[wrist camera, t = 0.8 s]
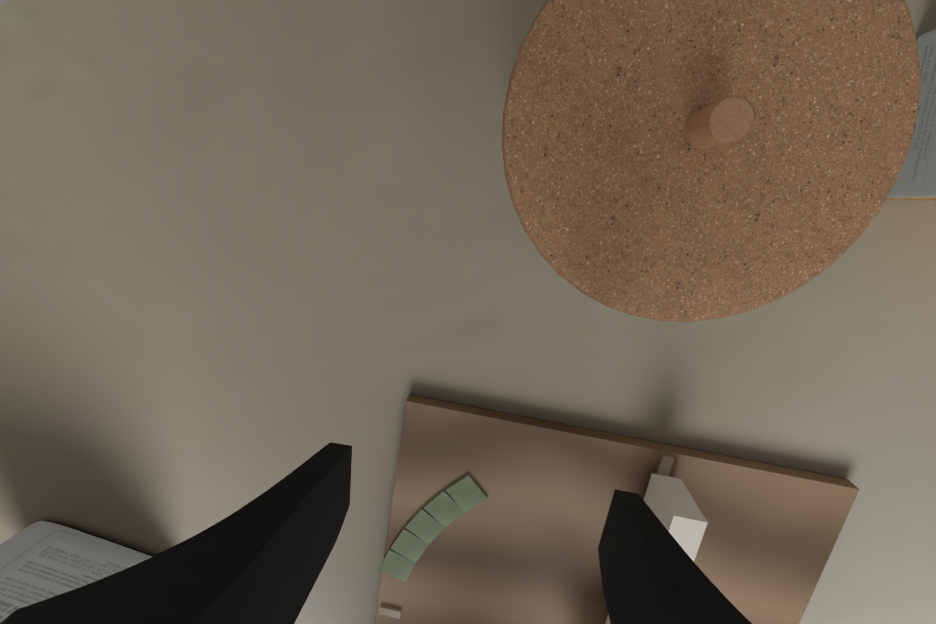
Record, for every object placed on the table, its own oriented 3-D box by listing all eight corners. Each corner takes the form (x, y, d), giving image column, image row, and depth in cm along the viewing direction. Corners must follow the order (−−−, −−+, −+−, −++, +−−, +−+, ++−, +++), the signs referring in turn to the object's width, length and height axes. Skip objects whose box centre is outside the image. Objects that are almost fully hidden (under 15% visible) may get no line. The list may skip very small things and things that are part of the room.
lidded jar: (634, -46, 18) (764, -304, 9) (817, 144, 19) (1105, 91, 10) (455, 168, 20) (411, 143, 11) (624, 325, 21) (709, 418, 12)
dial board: (732, 740, 27) (741, 760, 26) (369, 659, 28) (364, 675, 27) (846, 479, 22) (862, 491, 21) (407, 393, 23) (402, 402, 22)
